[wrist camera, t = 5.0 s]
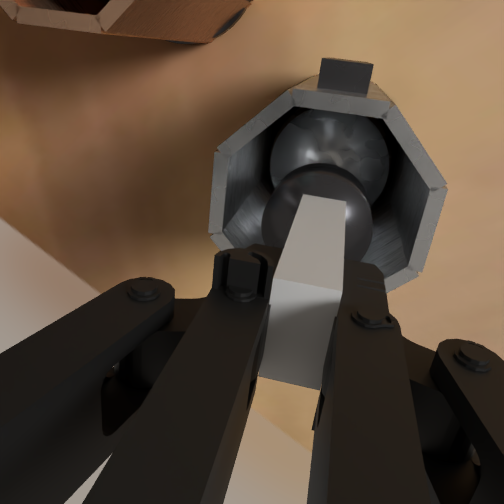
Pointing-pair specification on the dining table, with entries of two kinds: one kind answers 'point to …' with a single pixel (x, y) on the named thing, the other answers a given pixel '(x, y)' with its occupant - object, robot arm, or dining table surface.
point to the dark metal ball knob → (327, 174)
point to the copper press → (133, 17)
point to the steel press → (382, 210)
